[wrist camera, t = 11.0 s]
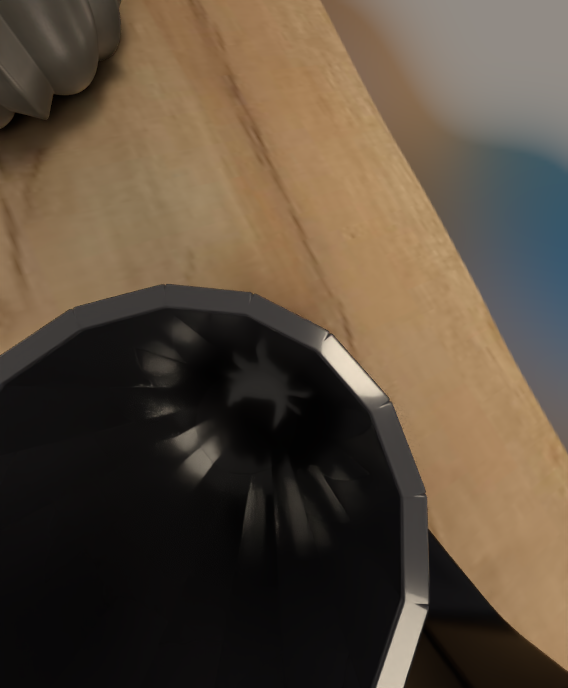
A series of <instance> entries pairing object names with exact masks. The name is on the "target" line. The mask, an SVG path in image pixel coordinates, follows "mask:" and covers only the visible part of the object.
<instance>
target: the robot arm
mask: <svg viewBox="0 0 568 688" xmlns="http://www.w3.org/2000/svg"><path fill="white" fill-rule="evenodd" d="M428 549H429V585H430V604H429V605H428V607H429V612H428V615H427V619H426V622H425V625H424V628H423V631H422V634H421V638H420V641H419V644H418V647H417V650H416V654H415V657H414V660H413V663H412V666H411V670H410V673H409V676H408V679H407V682H406V685H405V688H568V671H566V670H565V669H564V668H563V667H561V666H560V665H559V664H557V663H556V662H555V661H554V660H552V659H551V658H550V657H548V656H547V655H546V654H545V653H543V652H542V651H541V650H539V649H538V648H537V647H536V646H534V645H533V644H532V643H530V642H529V641H528V640H527V639H525V638H524V637H523V636H522V635H520V634H519V633H518V632H517V631H516V630H515V629H514V628H513V627H511V626H510V625H509V624H508V623H507V622H506V621H505V620H504V619H503V618H502V617H501V616H500V615H499V614H498V612H497V611H496V610H495V609H494V608H493V607H492V606H491V605H490V604H489V602H488V601H487V600H486V599H485V598H484V596H483V595H482V594H481V593H480V592H479V590H478V589H477V588H476V587H475V586H474V584H473V583H472V582H471V581H470V579H469V578H468V577H467V576H466V575H465V573H464V572H463V571H462V570H461V568H460V567H459V566H458V565H457V564H456V562H455V561H454V560H453V559H452V557H451V556H450V555H449V554H448V553H447V551H446V550H445V549H444V548H443V546H442V545H441V544H440V543H439V541H438V540H437V539H436V538H435V536H434V535H433V534H432V533H431V531H430V530H429V529H428Z"/></svg>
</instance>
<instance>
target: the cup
mask: <svg viewBox="0 0 568 688" xmlns="http://www.w3.org/2000/svg"><path fill="white" fill-rule="evenodd" d="M389 400H390V399H389V397H388V396H387V395H386V394H385V393H384V392H383V390H382V389H381V388H380V387H379V386H378V385H377V384H376V383H375V381H374V380H373V379H372V378H371V377H370V376H369V375H368V373H367V372H366V371H365V370H364V369H363V368H362V367H361V366H360V364H359V363H358V362H357V361H356V360H355V359H354V358H353V357H352V355H351V354H350V353H349V352H348V351H347V350H346V349H345V348H344V346H343V345H342V344H341V343H340V342H339V341H338V340H337V338H336V337H335V336H334V335H333V334H331V333H330V334H329V331H328V330H326V329H324V328H322V327H320V326H318V325H316V324H314V323H312V322H310V321H308V320H306V319H305V318H303V317H301V316H299V315H297V314H295V313H293V312H291V311H289V310H287V309H285V308H283V307H281V306H279V305H277V304H275V303H273V302H271V301H269V300H267V299H265V298H263V297H261V296H260V295H258V294H253V293H251V292H244V291H234V290H224V289H214V288H204V287H194V286H184V285H174V284H166V285H164V284H161V285H157V286H153V287H150V288H146V289H142V290H138V291H134V292H130V293H126V294H123V295H119V296H115V297H111V298H107V299H103V300H100V301H96V302H92V303H88V304H84V305H80V306H76V307H74V308H73V309H70V310H67V311H66V312H64V313H63V314H61V315H60V316H58V317H57V318H55V319H54V320H52V321H51V322H49V323H48V324H46V325H45V326H43V327H42V328H40V329H39V330H37V331H36V332H34V333H33V334H31V335H30V336H28V337H27V338H25V339H24V340H22V341H21V342H19V343H18V344H16V345H15V346H13V347H12V348H10V349H9V350H7V351H6V352H4V353H3V354H2V355H0V688H405V685H406V682H407V679H408V676H409V673H410V670H411V666H412V663H413V660H414V657H415V654H416V650H417V647H418V644H419V641H420V638H421V634H422V631H423V628H424V625H425V622H426V619H427V615H428V612H429V607H428V605H429V604H430V585H429V549H428V513H427V496H426V494H425V493H426V490H425V487H424V485H423V482H422V479H421V477H420V474H419V472H418V469H417V466H416V464H415V461H414V459H413V456H412V453H411V451H410V448H409V446H408V443H407V440H406V438H405V435H404V433H403V430H402V427H401V425H400V422H399V420H398V417H397V414H396V412H395V409H394V407H393V404H392V402H391V401H389Z"/></svg>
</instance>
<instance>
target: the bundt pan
mask: <svg viewBox="0 0 568 688" xmlns="http://www.w3.org/2000/svg"><path fill="white" fill-rule="evenodd" d="M120 3H121V0H0V129H1V128H3V127H4V126H6V125H7V124H8V123H9V122H10V121H11V119H12V118H13V116H14V114H15V112H17V113H21V114H25V115H29V116H32V117H36V118H40V119H44V120H46V119H48V118H49V114H50V108H51V103H52V97H53V94H57V95H72V94H76V93H79V92H81V91H82V90H84V89H85V88H86V87H87V86H88V85H89V84H90V83H91V81H92V80H93V78H94V76H95V73H96V70H97V65H98V61H101V60H104V59H107V58H109V57H110V56H111V55H112V54H113V53H114V52H115V50H116V49H117V47H118V44H119V41H120V35H121V20H120V13H119V7H120Z"/></svg>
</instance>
